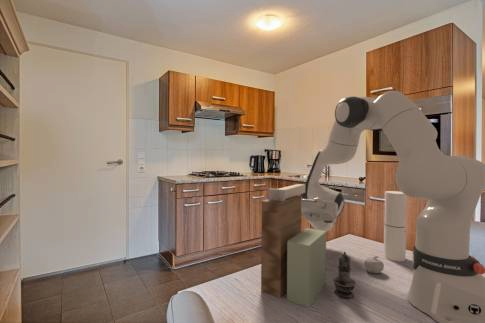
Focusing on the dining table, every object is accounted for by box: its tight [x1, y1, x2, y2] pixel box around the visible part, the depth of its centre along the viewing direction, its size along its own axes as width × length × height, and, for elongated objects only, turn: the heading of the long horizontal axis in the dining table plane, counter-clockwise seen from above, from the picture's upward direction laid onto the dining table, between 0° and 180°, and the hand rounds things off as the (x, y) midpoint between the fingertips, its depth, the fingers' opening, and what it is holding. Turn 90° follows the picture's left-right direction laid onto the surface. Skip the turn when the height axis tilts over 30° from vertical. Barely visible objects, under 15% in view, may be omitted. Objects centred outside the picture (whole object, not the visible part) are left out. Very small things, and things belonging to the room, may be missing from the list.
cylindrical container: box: [383, 190, 408, 262], centre depth 99 cm, size 7×7×25 cm
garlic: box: [363, 255, 385, 274], centre depth 87 cm, size 6×5×5 cm
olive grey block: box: [286, 227, 327, 308], centre depth 74 cm, size 6×15×16 cm, turn 146°
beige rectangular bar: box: [267, 183, 305, 201], centre depth 83 cm, size 5×20×3 cm, turn 146°
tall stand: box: [260, 195, 302, 298], centre depth 79 cm, size 6×15×26 cm, turn 146°
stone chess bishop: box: [332, 251, 356, 300], centre depth 73 cm, size 6×6×12 cm
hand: (303, 198), depth 93 cm, fingers open, 8 cm apart
